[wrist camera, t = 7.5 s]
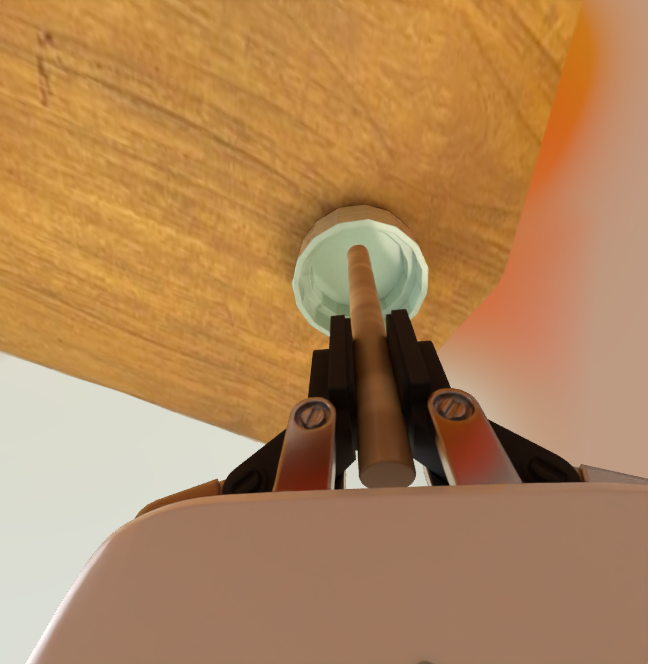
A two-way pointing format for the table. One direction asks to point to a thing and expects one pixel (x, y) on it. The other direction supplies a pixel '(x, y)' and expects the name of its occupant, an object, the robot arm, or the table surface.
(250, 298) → the table surface
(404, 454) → the stick
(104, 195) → the table surface
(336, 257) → the bowl
